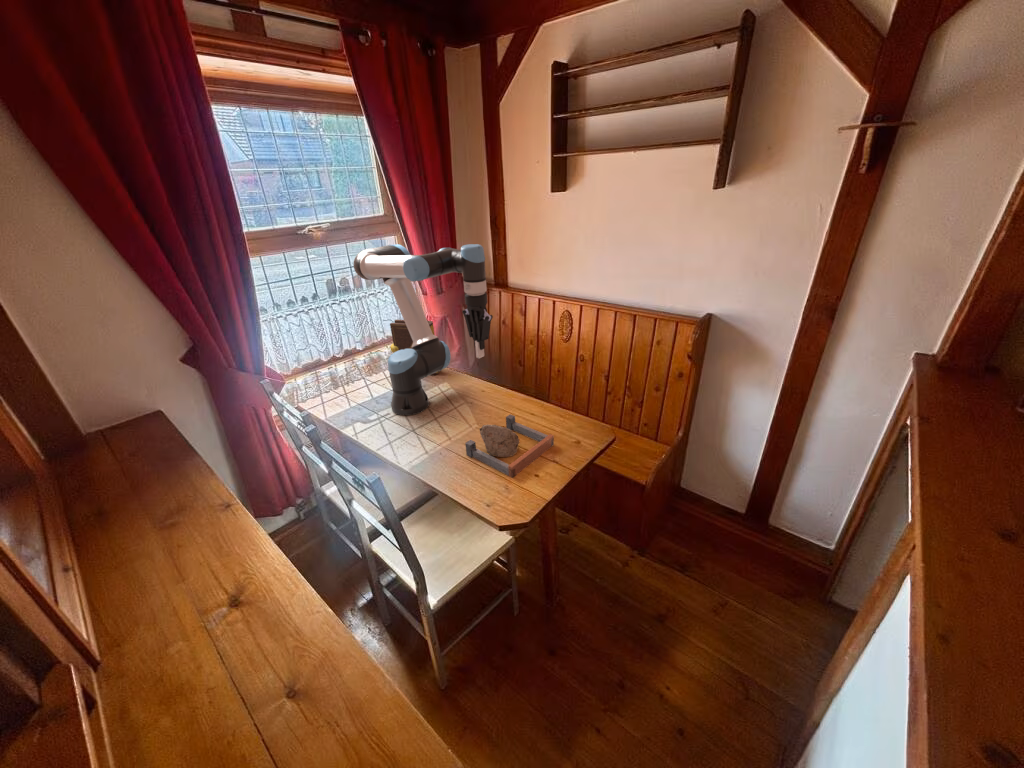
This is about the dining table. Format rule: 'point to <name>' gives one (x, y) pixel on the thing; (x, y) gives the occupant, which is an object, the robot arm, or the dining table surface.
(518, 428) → the frame
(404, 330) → the book
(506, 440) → the rock
